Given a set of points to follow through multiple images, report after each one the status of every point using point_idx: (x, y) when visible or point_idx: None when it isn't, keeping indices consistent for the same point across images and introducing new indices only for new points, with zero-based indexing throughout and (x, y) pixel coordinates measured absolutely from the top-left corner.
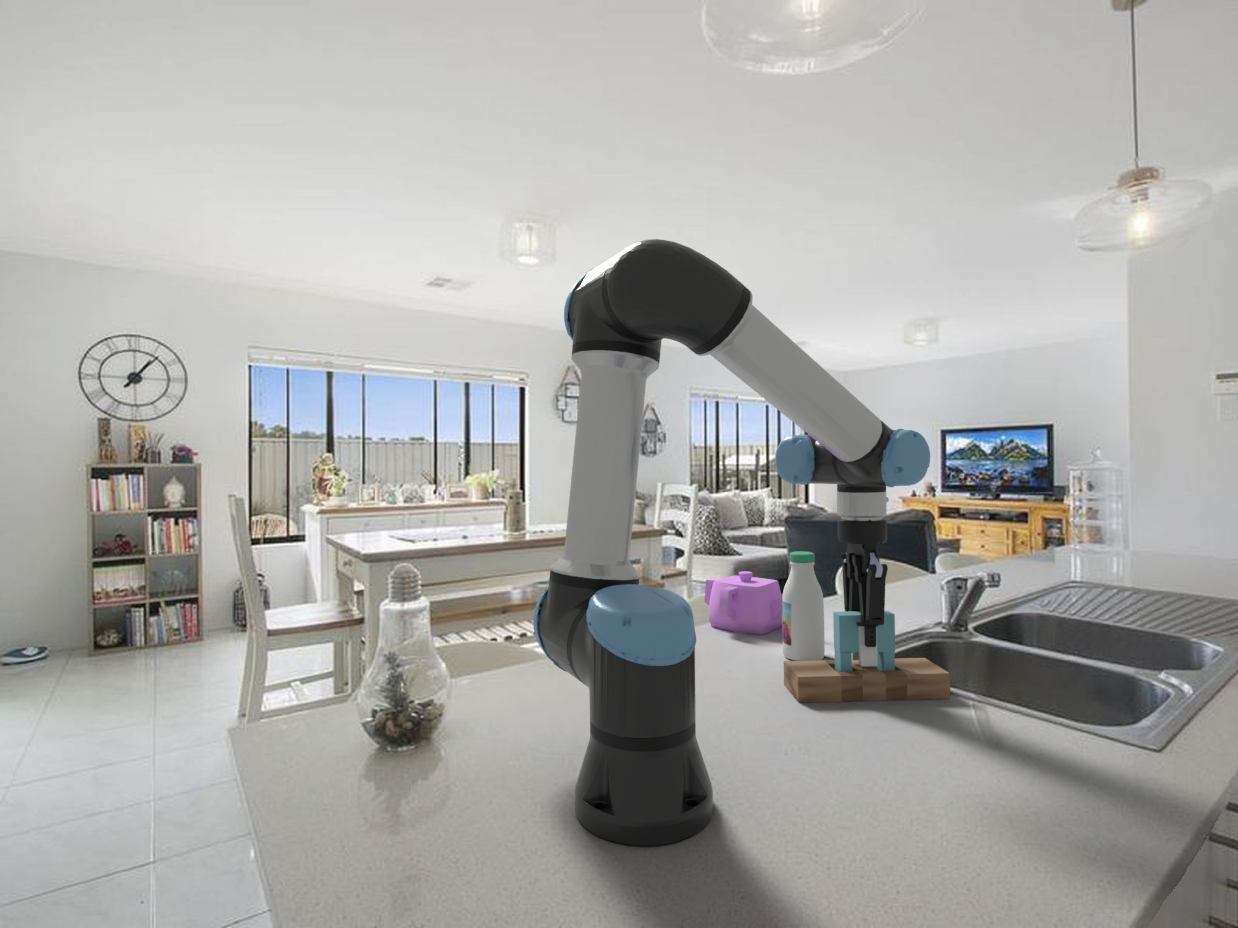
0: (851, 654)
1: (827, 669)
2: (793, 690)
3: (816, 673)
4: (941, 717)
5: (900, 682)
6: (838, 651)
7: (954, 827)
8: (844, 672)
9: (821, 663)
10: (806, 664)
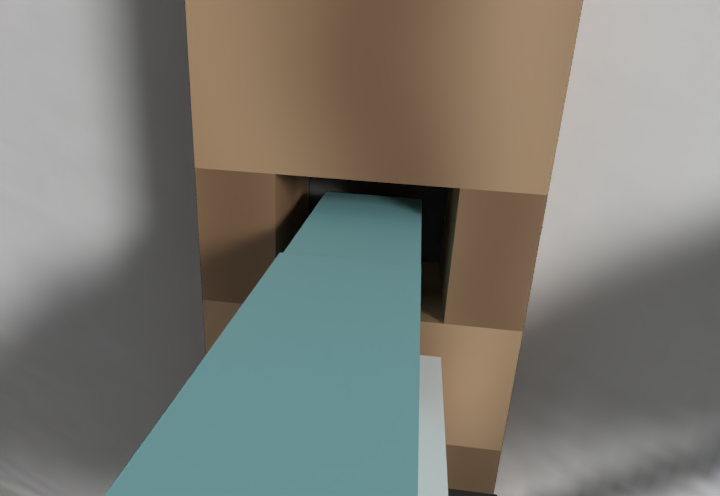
0: (432, 374)
1: (331, 130)
2: None
3: (252, 9)
4: (81, 436)
5: None
6: (306, 255)
7: None
8: (259, 217)
9: (473, 144)
10: (473, 11)
